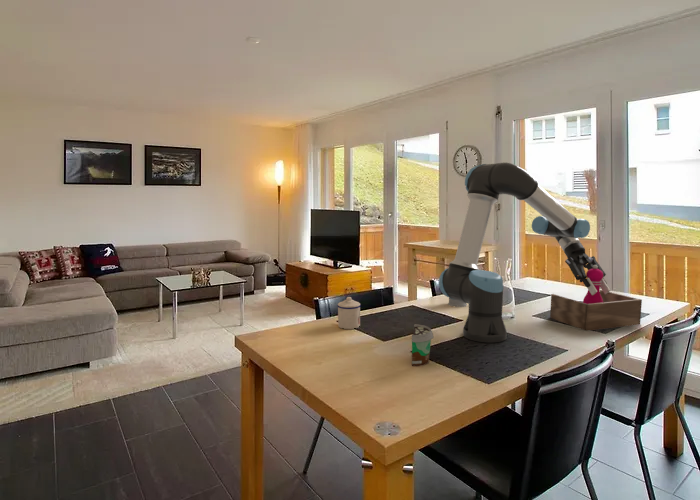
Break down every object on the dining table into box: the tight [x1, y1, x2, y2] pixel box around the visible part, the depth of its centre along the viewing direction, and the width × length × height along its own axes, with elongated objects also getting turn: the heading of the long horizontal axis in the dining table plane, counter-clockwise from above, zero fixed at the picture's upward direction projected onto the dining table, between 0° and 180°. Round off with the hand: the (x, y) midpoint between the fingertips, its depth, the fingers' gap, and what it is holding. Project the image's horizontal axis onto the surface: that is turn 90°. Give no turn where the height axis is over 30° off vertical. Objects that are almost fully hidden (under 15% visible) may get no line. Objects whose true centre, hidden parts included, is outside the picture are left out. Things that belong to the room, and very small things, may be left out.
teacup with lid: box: [337, 296, 362, 330], centre depth 175 cm, size 12×9×12 cm
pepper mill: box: [582, 265, 604, 304], centre depth 178 cm, size 7×7×20 cm
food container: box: [411, 323, 434, 367], centre depth 137 cm, size 12×6×10 cm, turn 168°
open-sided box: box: [549, 289, 643, 332], centre depth 178 cm, size 19×26×10 cm
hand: (601, 292), depth 174 cm, fingers closed on pepper mill, 6 cm apart
